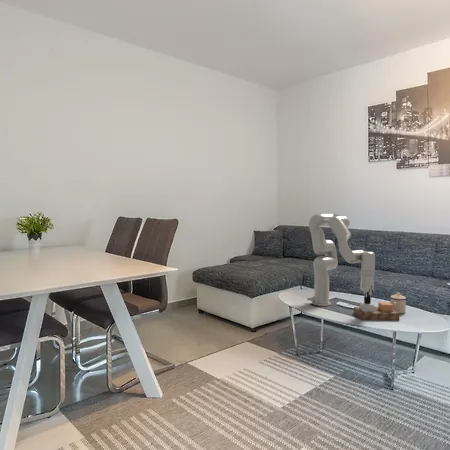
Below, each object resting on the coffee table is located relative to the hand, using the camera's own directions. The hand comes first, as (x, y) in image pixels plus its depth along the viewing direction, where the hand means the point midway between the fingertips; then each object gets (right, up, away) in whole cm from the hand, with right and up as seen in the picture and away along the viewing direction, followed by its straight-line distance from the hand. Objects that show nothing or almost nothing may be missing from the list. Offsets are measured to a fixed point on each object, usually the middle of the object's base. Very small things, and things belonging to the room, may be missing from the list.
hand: (367, 303), depth 228 cm
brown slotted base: (+5, -8, +1) cm, 10 cm away
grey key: (0, -5, +1) cm, 5 cm away
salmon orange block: (+11, -5, +1) cm, 12 cm away
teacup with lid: (+22, -8, +11) cm, 26 cm away
